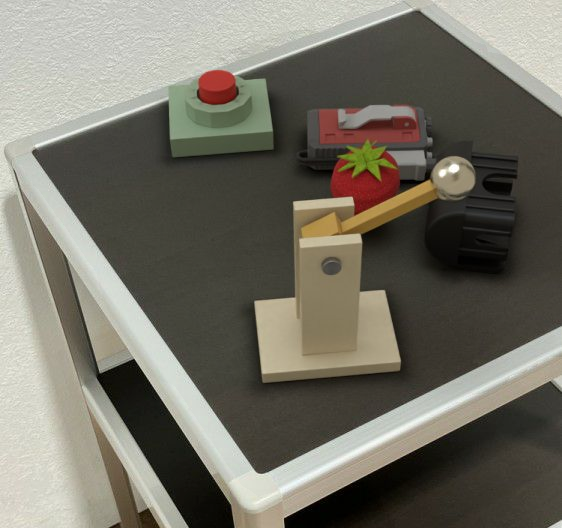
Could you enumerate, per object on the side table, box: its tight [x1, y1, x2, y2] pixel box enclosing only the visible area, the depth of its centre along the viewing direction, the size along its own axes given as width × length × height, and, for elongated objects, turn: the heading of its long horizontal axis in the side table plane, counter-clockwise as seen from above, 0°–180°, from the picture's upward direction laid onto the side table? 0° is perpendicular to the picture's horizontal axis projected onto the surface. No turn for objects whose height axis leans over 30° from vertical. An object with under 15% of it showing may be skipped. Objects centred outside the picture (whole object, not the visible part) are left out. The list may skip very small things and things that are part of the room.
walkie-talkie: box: [295, 104, 437, 181], centre depth 93 cm, size 9×4×20 cm
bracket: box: [254, 197, 402, 384], centre depth 74 cm, size 11×8×13 cm
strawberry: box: [329, 139, 401, 216], centre depth 84 cm, size 6×8×10 cm
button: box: [198, 69, 236, 105], centre depth 95 cm, size 4×4×2 cm
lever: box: [301, 156, 476, 238], centre depth 69 cm, size 13×3×3 cm, turn 95°
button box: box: [167, 75, 275, 158], centre depth 96 cm, size 10×9×4 cm
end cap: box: [423, 139, 519, 274], centre depth 84 cm, size 10×7×7 cm
